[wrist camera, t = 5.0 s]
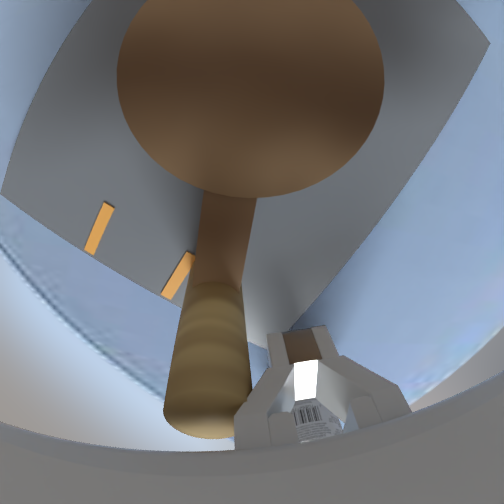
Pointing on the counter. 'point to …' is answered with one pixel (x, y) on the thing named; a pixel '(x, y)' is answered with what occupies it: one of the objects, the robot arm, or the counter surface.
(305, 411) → the sprinkles bottle
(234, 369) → the dial
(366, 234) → the stand
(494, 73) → the counter surface
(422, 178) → the counter surface
